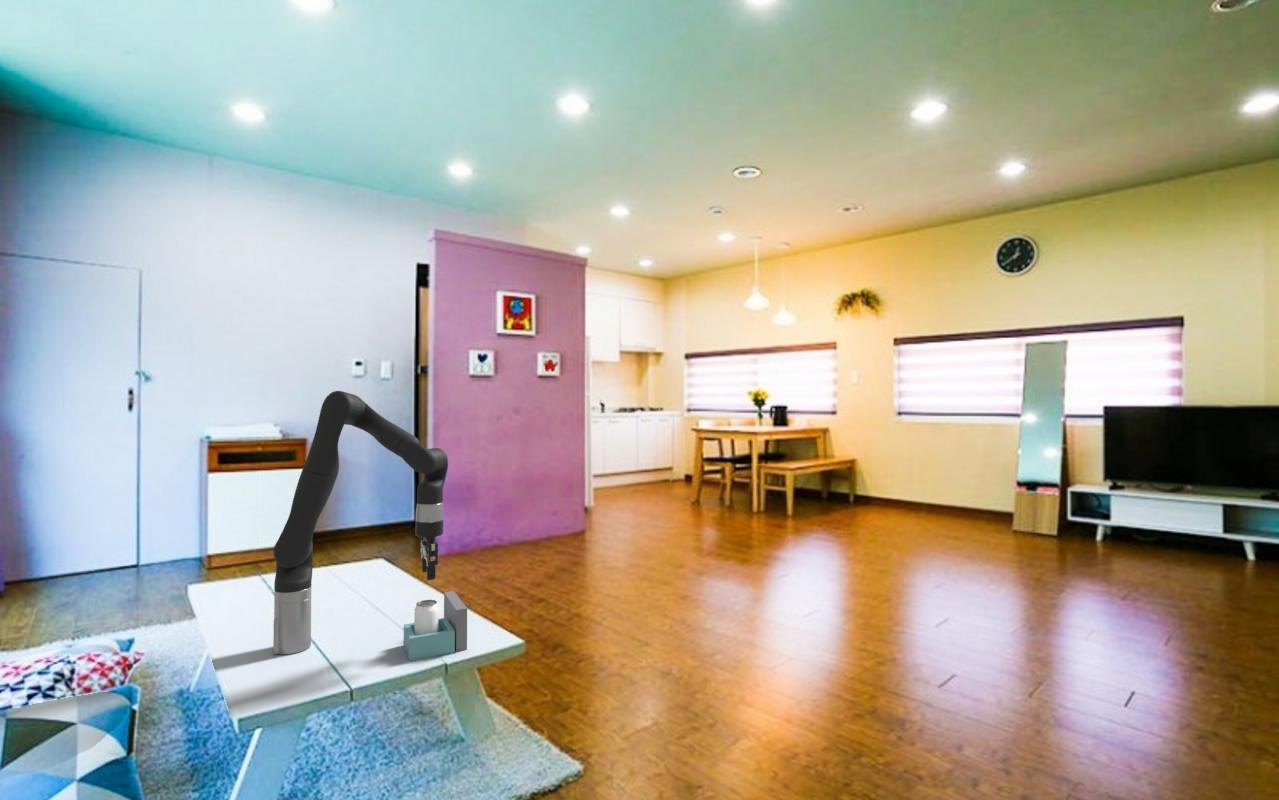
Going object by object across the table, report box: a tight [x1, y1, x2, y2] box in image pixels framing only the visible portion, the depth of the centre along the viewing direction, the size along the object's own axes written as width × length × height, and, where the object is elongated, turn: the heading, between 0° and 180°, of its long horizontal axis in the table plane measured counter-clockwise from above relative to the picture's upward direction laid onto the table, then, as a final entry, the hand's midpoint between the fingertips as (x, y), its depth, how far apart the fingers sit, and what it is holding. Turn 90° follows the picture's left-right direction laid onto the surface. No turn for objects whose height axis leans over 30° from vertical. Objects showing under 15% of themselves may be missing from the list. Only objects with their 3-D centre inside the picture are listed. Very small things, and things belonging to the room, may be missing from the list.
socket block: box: [403, 617, 456, 662], centre depth 174 cm, size 12×12×6 cm
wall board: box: [443, 590, 468, 652], centre depth 181 cm, size 3×18×12 cm, turn 29°
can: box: [413, 599, 439, 636], centre depth 174 cm, size 6×6×12 cm
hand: (428, 575), depth 174 cm, fingers open, 8 cm apart
